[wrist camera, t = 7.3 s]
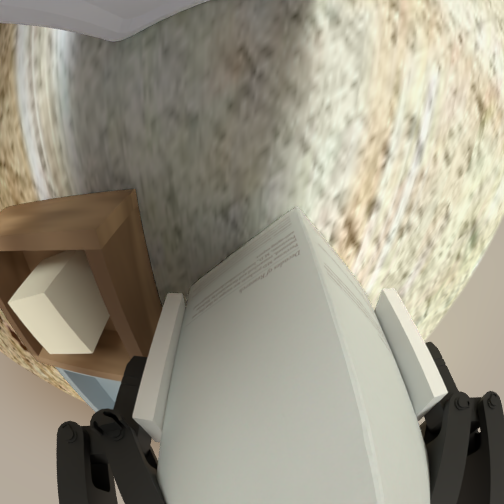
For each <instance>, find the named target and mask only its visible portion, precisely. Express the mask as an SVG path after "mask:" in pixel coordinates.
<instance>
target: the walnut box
mask: <svg viewBox="0 0 504 504" xmlns="http://www.w3.org/2000/svg"><path fill="white" fill-rule="evenodd" d="M66 250H85V253H86V256H87V259H88V262H89V265H90V268H91V271H92V273H93V276H94V279H95V281H96V284H97V286H98V289H99V291H100V294H101V296H102V299H103V301H104V303H105V306H106V308H107V310H108V313H109V315H110V316H109V319H108V321H107V323H106V325H105V327H104V329H103V331H102V334H101V336H100V338H99V340H98V343H97V345H96V347H95V349H94V352H93V353H89V354H49V353H48V351H47V350H46V349H45V348H44V347H43V346H42V345H41V344H40V343H39V342H38V340H37V339H36V338H35V337H34V336H33V335H32V333H31V332H30V331H29V330H28V329H27V327H26V326H25V325H24V324H23V322H22V321H21V320H20V319H19V317H18V316H17V315H16V313H15V312H14V311H13V309H12V308H11V307H10V305H9V304H8V301H9V300H10V299H11V297H12V296H13V295H14V294H15V292H16V291H17V290H18V288H19V287H20V286H21V285H22V283H23V282H24V281H25V280H26V278H27V277H28V276H29V275H30V274H31V272H32V271H33V270H34V269H35V268H36V267H37V265H38V264H39V263H40V262H41V261H42V260H44V259H46V258H49V257H51V256H54V255H56V254H59V253H61V252H64V251H66ZM0 308H1V310H2V311H3V313H4V315H5V316H6V318H7V320H8V321H9V323H10V324H11V326H12V327H13V329H14V330H15V332H16V333H17V335H18V336H19V338H20V339H21V341H22V342H23V343H24V345H25V346H26V348H27V349H28V350H29V352H30V353H31V354H32V356H33V357H34V358H35V360H36V361H38V362H41V363H44V364H48V365H51V366H54V367H58V368H62V369H65V370H69V371H73V372H77V373H81V374H86V375H90V376H95V377H99V378H104V379H109V380H115V381H120V382H121V381H122V378H123V376H124V375H123V374H124V371H125V368H126V365H127V363H128V362H129V361H130V360H131V359H132V357H133V356H142V357H148V354H149V351H150V348H151V344H152V341H153V337H154V334H155V331H156V328H157V324H158V321H159V318H160V315H161V312H162V306H161V302H160V299H159V295H158V291H157V287H156V284H155V280H154V276H153V272H152V268H151V264H150V260H149V255H148V251H147V246H146V242H145V237H144V232H143V228H142V223H141V217H140V212H139V207H138V201H137V195H136V189H128V190H118V191H108V192H99V193H90V194H82V195H75V196H68V197H61V198H54V199H48V200H42V201H36V202H30V203H24V204H19V205H14V206H9V207H6V208H5V209H4V210H2V211H1V212H0Z"/></svg>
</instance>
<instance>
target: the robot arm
mask: <svg viewBox="0 0 504 504" xmlns="http://www.w3.org/2000/svg"><path fill="white" fill-rule="evenodd" d="M185 309H186V307H185V302H184V297H183V293H168V294H167V297H166V300H165V303H164V306H163V309H162V312H161V315H160V318H159V321H158V324H157V328H156V331H155V334H154V337H153V341H152V344H151V348H150V351H149V354H148V357H142V356H133V357H132V359H131V360H130V361H129V362H128V363H127V365H126V368H125V371H124V374H123V375H124V376H123V378H122V381H121V385H120V387H119V391H118V394H117V398H116V401H115V405H114V408H113V410H112V409H109V408H106V409H101V410H99V411H97V412H96V413H95V414H94V415H93V416H92V419H91V421H90V426H80V425H78V424H77V423H76V422H72V421H68V422H64V423H63V424H61V426H60V427H59V428H58V432H57V482H58V496H59V504H118V503H117V497H116V491H115V483H114V478H115V481H116V483H117V486H118V489H119V491H120V493H121V496H122V498H123V500H124V502H125V504H166V502H165V500H164V497H163V494H162V492H161V489H160V486H159V483H158V480H157V477H156V475H157V467H158V460H157V458H156V456H155V454H154V451H153V449H152V447H151V446H150V443H151V438H152V439H153V440H154V441H155V442H160V443H161V436H162V429H163V422H164V416H165V410H166V404H167V398H168V393H169V388H170V382H171V376H172V371H173V366H174V360H175V355H176V351H177V346H178V340H179V336H180V331H181V326H182V322H183V317H184V313H185ZM374 312H375V314H376V316H377V319H378V321H379V323H380V326H381V328H382V330H383V333H384V335H385V337H386V340H387V342H388V344H389V346H390V349H391V351H392V354H393V356H394V358H395V361H396V363H397V366H398V368H399V371H400V373H401V376H402V378H403V381H404V384H405V386H406V389H407V392H408V395H409V397H410V400H411V403H412V406H413V409H414V412H415V415H416V417H417V420H418V421H419V420H420V419H421V418H422V417H423V416H424V417H425V421H424V422H423V423H422V424H421V425H420V426H419V427H420V430H421V433H422V436H423V439H424V443H425V446H426V449H427V454H428V463H429V473H430V504H504V415H503V409H502V404H501V400H500V397H499V396H498V395H497V394H496V393H495V392H492V391H489V392H487V393H486V394H485V395H484V396H483V397H482V398H481V397H478V398H469V396H468V395H467V394H466V393H463V392H459V391H458V389H457V387H456V385H455V383H454V381H453V378H452V376H451V374H450V372H449V370H448V368H447V366H446V365H445V362H444V360H443V359H442V356H441V354H440V352H439V350H438V348H437V347H436V346H435V345H434V344H433V343H432V342H428V343H425V342H424V340H423V338H422V336H421V334H420V333H419V331H418V329H417V327H416V325H415V323H414V321H413V319H412V318H411V316H410V314H409V312H408V310H407V309H406V307H405V305H404V303H403V302H402V300H401V298H400V297H399V295H398V293H397V291H396V290H395V288H388V289H382V292H381V294H380V297H379V300H378V303H377V305H376V308H375V311H374ZM479 427H480V430H481V432H480V433H479V432H478V428H479Z"/></svg>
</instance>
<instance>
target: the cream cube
mask: <svg viewBox="0 0 504 504" xmlns="http://www.w3.org/2000/svg"><path fill="white" fill-rule="evenodd" d="M8 304H9V305H10V307H11V308H12V309H13V311H14V312H15V313H16V315H17V316H18V317H19V319H20V320H21V321H22V322H23V324H24V325H25V326H26V327H27V329H28V330H29V331H30V332H31V333H32V335H33V336H34V337H35V338H36V339H37V340H38V342H39V343H40V344H41V345H42V346H43V347H44V348H45V349H46V350H47V351H48V353H49V354H89V353H93V352H94V349H95V347H96V345H97V343H98V340H99V338H100V336H101V334H102V331H103V329H104V327H105V325H106V323H107V321H108V319H109V316H110V315H109V313H108V310H107V308H106V306H105V303H104V301H103V299H102V296H101V294H100V291H99V289H98V286H97V284H96V281H95V279H94V276H93V273H92V271H91V268H90V265H89V262H88V259H87V256H86V253H85V250H66V251H64V252H61V253H59V254H56V255H54V256H51V257H49V258H46V259H44V260H42V261H41V262H40V263H39V264H38V265H37V267H36V268H35V269H34V270H33V271H32V272H31V274H30V275H29V276H28V277H27V278H26V280H25V281H24V282H23V283H22V285H21V286H20V287H19V288H18V290H17V291H16V292H15V294H14V295H13V296H12V297H11V299H10V300H9V301H8Z"/></svg>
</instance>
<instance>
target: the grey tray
mask: <svg viewBox="0 0 504 504" xmlns="http://www.w3.org/2000/svg"><path fill="white" fill-rule="evenodd" d="M56 369H57V370H58V371H59V372H60V373H61V375H62V376H63V377H64V378H65V380H66V381H67V382H68V383H69V384H70V385H71V386H72V388H73V389H74V390H75V391H76V392H77V393H78V394H79V395H80V397H81V398H82V399H83V400H84V401H85V402H86V403H87V404H88V405H89V406H90V407H91V408H92V409H93V410H94V411H95V412H97V411H99V410H101V409H106V408H109V409H112V410H113V408H114V405H115V401H116V398H117V394H118V391H119V387H120V385H121V382H120V381H115V380H109V379H104V378H99V377H95V376H90V375H86V374H81V373H77V372H73V371H69V370H65V369H62V368H58V367H56Z"/></svg>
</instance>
